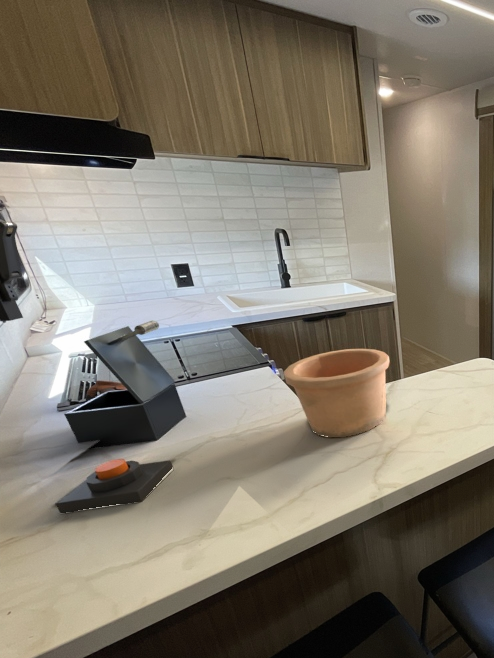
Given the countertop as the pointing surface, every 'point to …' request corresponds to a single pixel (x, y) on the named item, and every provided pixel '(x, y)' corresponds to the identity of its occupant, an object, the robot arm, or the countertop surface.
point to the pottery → (341, 390)
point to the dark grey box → (125, 418)
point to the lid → (132, 360)
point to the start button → (111, 468)
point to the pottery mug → (103, 388)
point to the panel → (115, 487)
